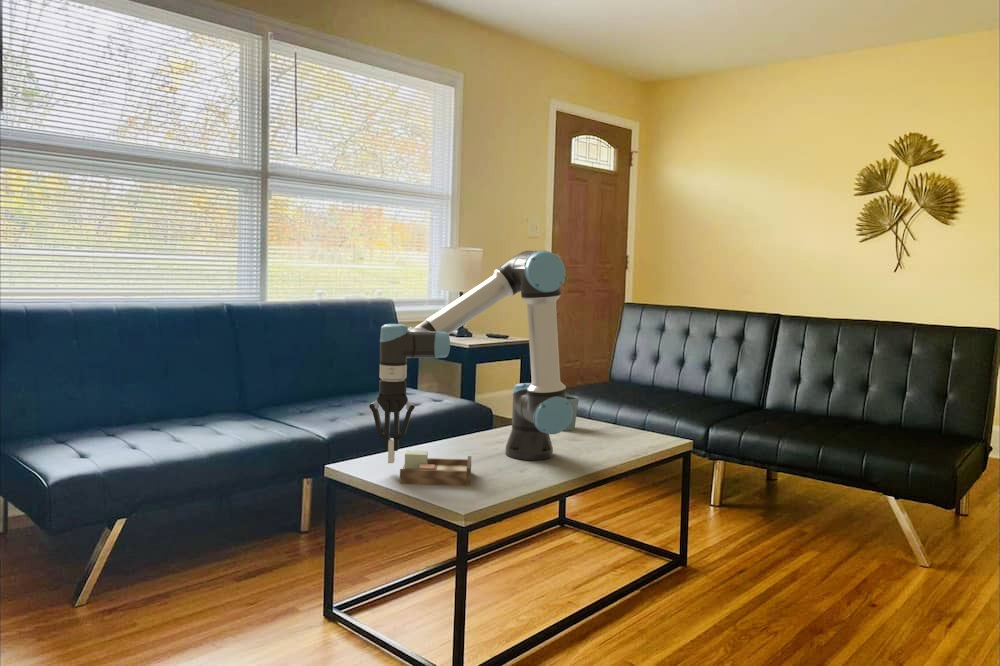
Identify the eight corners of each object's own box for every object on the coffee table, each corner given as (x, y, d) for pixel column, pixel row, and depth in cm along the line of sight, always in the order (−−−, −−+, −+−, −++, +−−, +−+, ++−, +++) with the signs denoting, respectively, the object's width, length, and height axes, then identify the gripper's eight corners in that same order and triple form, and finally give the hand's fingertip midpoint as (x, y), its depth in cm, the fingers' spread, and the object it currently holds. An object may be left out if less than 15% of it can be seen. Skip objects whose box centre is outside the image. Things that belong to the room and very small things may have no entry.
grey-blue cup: (546, 426, 289) (547, 394, 288) (571, 425, 292) (572, 393, 291) (556, 432, 280) (557, 399, 279) (581, 431, 283) (583, 398, 282)
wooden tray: (470, 473, 222) (471, 456, 222) (469, 486, 209) (470, 468, 209) (404, 471, 222) (405, 454, 221) (399, 484, 209) (400, 466, 209)
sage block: (427, 464, 220) (427, 451, 220) (426, 468, 216) (426, 454, 216) (406, 464, 220) (406, 450, 220) (404, 468, 216) (404, 454, 215)
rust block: (434, 478, 215) (434, 464, 215) (433, 482, 211) (433, 468, 211) (420, 478, 215) (420, 464, 214) (418, 482, 211) (419, 467, 210)
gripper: (367, 380, 212) (365, 464, 214) (415, 382, 212) (413, 466, 214) (371, 376, 219) (370, 457, 222) (417, 378, 219) (415, 459, 222)
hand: (391, 461), depth 218 cm, fingers closed
